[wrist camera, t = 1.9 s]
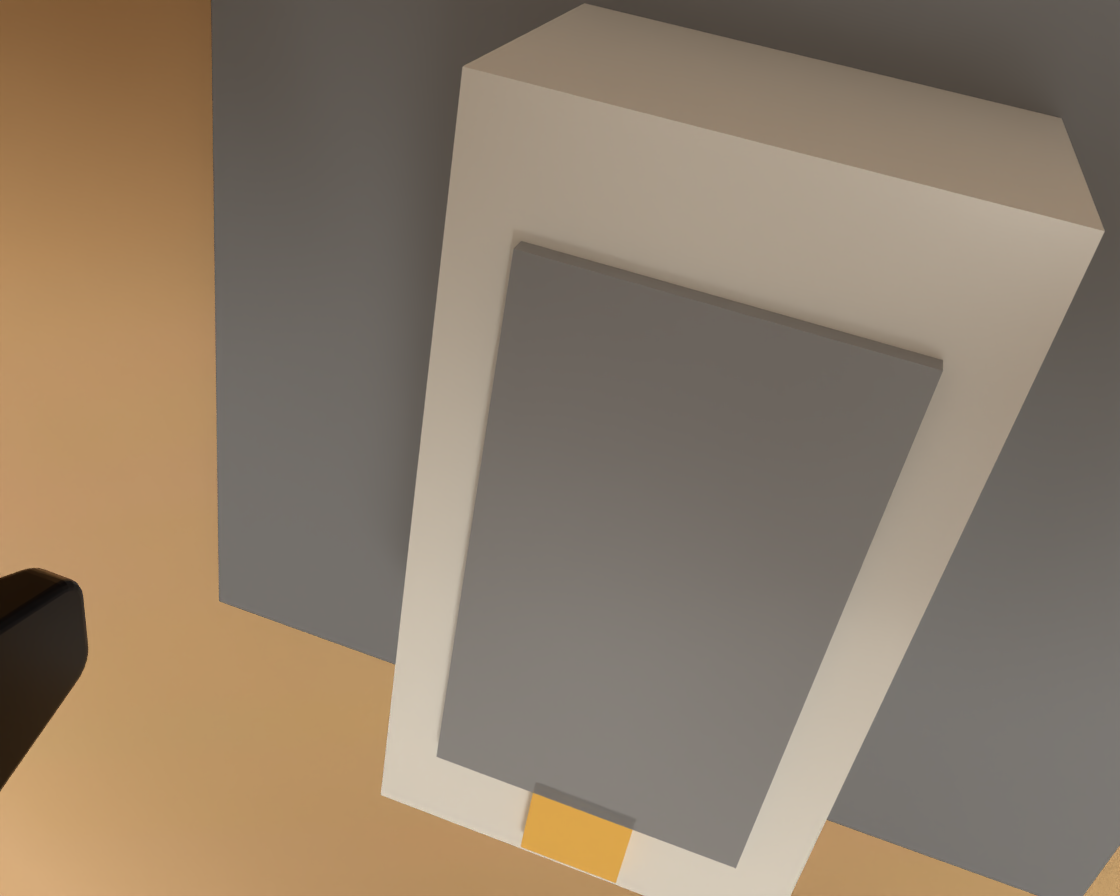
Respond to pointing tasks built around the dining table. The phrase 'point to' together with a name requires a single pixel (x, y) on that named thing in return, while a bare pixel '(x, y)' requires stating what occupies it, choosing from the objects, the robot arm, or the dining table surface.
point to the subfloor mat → (404, 353)
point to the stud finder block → (704, 433)
